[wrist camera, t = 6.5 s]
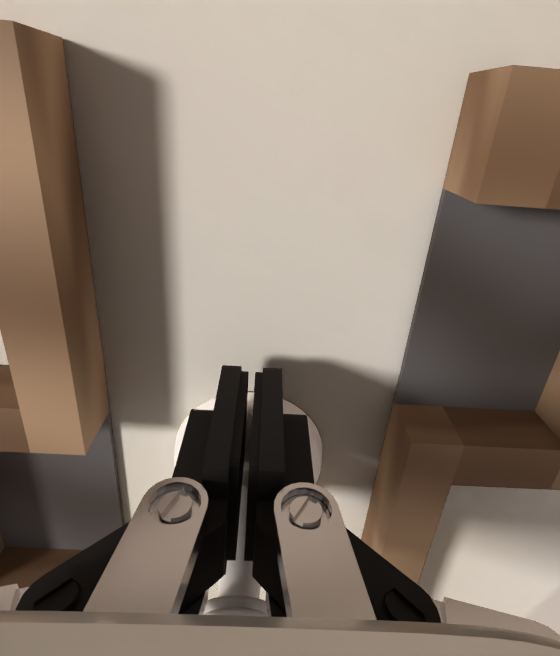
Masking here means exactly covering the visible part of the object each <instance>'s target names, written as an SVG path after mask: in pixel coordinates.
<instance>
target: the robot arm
mask: <svg viewBox="0 0 560 656" xmlns="http://www.w3.org/2000/svg"><path fill="white" fill-rule="evenodd" d="M247 395H248V372H244V371H241V366H225V365H223V366H222V370H221V375H220V380H219V385H218V390H217V395H216V400H215V405H214V410H197V409H192V410H191V412H190V415H189V418H188V422H187V425H186V429H185V433H184V436H183V440H182V444H181V447H180V451H179V455H178V458H177V462H176V465H175V469H174V473H173V476H172V478H169V479H165V480H163V481H161V482H158V483H156V484H155V485H154V486H152V487H151V488H150V489H149V490H148V491H147V492H146V494H145V495H144V496H143V498H142V500H141V502H140V504H139V506H138V508H137V509H136V511H135V513H134V515H133V517H132V519H131V521H130V522H128V523H126V524H125V525H123V526H122V527H120V528H118V529H117V530H115V531H114V532H112V533H110V534H109V535H107V536H105V537H104V538H102V539H101V540H99V541H97V542H96V543H94V544H93V545H91V546H89V547H88V548H86V549H85V550H83V551H81V552H80V553H78V554H76V555H75V556H73V557H72V558H70V559H68V560H67V561H65V562H64V563H62V564H60V565H59V566H57V567H56V568H54V569H52V570H51V571H49V572H47V573H46V574H44V575H43V576H42V577H40V578H39V579H38V580H36V581H35V582H34V583H32V584H31V586H30V587H26V588H20V589H19V588H18V584H12V585H6V586H1V587H0V656H560V635H559V634H557V633H556V632H555V631H553V630H552V629H551V628H549V627H548V626H545V625H543V624H540V623H538V622H536V621H533V620H529V619H525V618H521V617H518V616H514V615H510V614H506V613H502V612H499V611H495V610H491V609H487V608H484V607H480V606H476V605H472V604H469V603H465V602H461V601H457V600H454V599H450V598H446V597H444V599H443V601H442V602H440V601H437V600H433V599H431V597H430V596H429V595H428V594H427V593H426V592H425V591H424V590H423V589H422V588H421V587H420V586H419V585H417V584H416V583H415V582H414V581H412V580H411V579H410V578H408V577H407V576H406V575H405V574H403V573H402V572H401V571H400V570H398V569H397V568H396V567H395V566H393V565H392V564H391V563H390V562H388V561H387V560H386V559H384V558H383V557H382V556H381V555H379V554H378V553H377V552H376V551H374V550H373V549H372V548H371V547H369V546H368V545H367V544H366V543H364V542H363V541H362V540H360V539H359V538H358V537H357V536H355V535H354V534H353V533H352V532H350V531H349V530H348V529H347V528H345V525H344V522H343V519H342V516H341V513H340V510H339V507H338V504H337V502H336V500H335V499H334V497H333V496H332V495H331V494H330V493H329V492H328V491H327V490H326V489H324V488H322V487H320V486H319V485H315V484H314V475H313V466H312V456H311V447H310V438H309V428H308V419H307V415H299V414H283V391H282V369H281V368H263V373H262V372H256V373H255V387H254V401H253V416H252V430H251V444H250V459H249V475H248V493H247V513H246V532H245V551H244V561H253V566H252V577H253V578H254V579H255V580H256V581H257V582H258V583H259V584H260V585H261V586H262V587H263V588H264V590H265V591H266V607H267V614H268V617H265V616H232V615H203V614H204V610H205V607H206V603H207V600H208V593H209V588H210V587H211V586H212V585H213V584H215V583H216V582H217V581H218V580H219V579H221V578H222V577H223V576H224V575H226V567H227V560H232V561H235V560H236V550H237V539H238V527H239V515H240V503H241V491H242V480H243V468H244V456H245V439H246V417H247Z"/></svg>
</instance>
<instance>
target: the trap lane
mask: <svg viewBox="0 0 560 656" xmlns="http://www.w3.org/2000/svg"><path fill="white" fill-rule="evenodd" d="M0 330H1V334H2V338H3V342H4V346H5V350H6V354H7V359H8V363H9V366H5V365H0V587H1V586H6V585H12V584H18V588H19V589H20V588H26V587H30V586H31V584H32V583H34V582H35V581H36V580H38V579H39V578H40V577H42V576H43V575H44V574H46V573H47V572H49V571H51V570H52V569H54V568H56V567H57V566H59V565H60V564H62V563H64V562H65V561H67V560H68V559H70V558H72V557H73V556H75V555H76V554H78V553H80V552H81V551H83V550H85V549H86V548H88V547H89V546H91V545H93V544H94V543H96V542H97V541H99V540H101V539H102V538H104V537H105V536H107V535H109V534H110V533H112V532H114V531H115V530H117V529H118V528H120V527H122V526H123V525H124V519H123V511H122V503H121V495H120V487H119V479H118V472H117V464H116V456H115V448H114V440H113V432H112V424H111V417H110V409H109V401H108V393H107V385H106V377H105V369H104V361H103V354H102V346H101V338H100V330H99V322H98V314H97V306H96V299H95V291H94V283H93V275H92V267H91V259H90V251H89V243H88V236H87V228H86V220H85V212H84V204H83V196H82V188H81V181H80V173H79V165H78V157H77V149H76V141H75V133H74V125H73V118H72V110H71V102H70V94H69V86H68V78H67V70H66V63H65V55H64V47H63V39H62V38H61V37H58V36H55V35H53V34H50V33H47V32H44V31H41V30H38V29H35V28H32V27H29V26H26V25H23V24H20V23H17V22H14V21H8V20H0ZM451 485H461V486H483V487H506V488H528V489H550V490H560V69H552V68H541V67H529V66H518V65H511V66H506V67H500V68H495V69H490V70H484V71H479V72H474V73H470V74H469V78H468V82H467V86H466V91H465V95H464V99H463V104H462V108H461V112H460V117H459V121H458V125H457V130H456V134H455V138H454V142H453V147H452V151H451V155H450V160H449V164H448V168H447V173H446V177H445V181H444V186H443V190H442V194H441V198H440V203H439V207H438V211H437V216H436V220H435V224H434V229H433V233H432V237H431V242H430V246H429V250H428V254H427V259H426V263H425V267H424V272H423V276H422V280H421V285H420V289H419V293H418V297H417V302H416V306H415V310H414V315H413V319H412V323H411V328H410V332H409V336H408V341H407V345H406V349H405V353H404V358H403V362H402V366H401V371H400V375H399V379H398V384H397V388H396V392H395V397H394V401H393V405H392V409H391V414H390V418H389V422H388V427H387V431H386V435H385V440H384V444H383V448H382V453H381V457H380V461H379V465H378V470H377V474H376V478H375V483H374V487H373V491H372V496H371V500H370V504H369V508H368V513H367V517H366V521H365V526H364V530H363V534H362V539H361V540H362V541H363V542H364V543H366V544H367V545H368V546H369V547H371V548H372V549H373V550H374V551H376V552H377V553H378V554H379V555H381V556H382V557H383V558H384V559H386V560H387V561H388V562H390V563H391V564H392V565H393V566H395V567H396V568H397V569H398V570H400V571H401V572H402V573H403V574H405V575H406V576H407V577H408V578H410V579H411V580H412V581H414V582H415V583H416V584H418V581H419V578H420V575H421V572H422V569H423V566H424V563H425V560H426V557H427V554H428V551H429V548H430V546H431V543H432V540H433V537H434V534H435V531H436V528H437V525H438V522H439V519H440V516H441V513H442V510H443V507H444V504H445V502H446V499H447V496H448V493H449V490H450V487H451Z"/></svg>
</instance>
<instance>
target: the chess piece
mask: <svg viewBox="0 0 560 656" xmlns="http://www.w3.org/2000/svg"><path fill="white" fill-rule="evenodd" d="M215 400H216V398H213V399H211V400H209V401H207V402H205V403H203V404H202V405H200V406H198V407H197V408H196V409H197V410H214V405H215ZM253 401H254V392H248V395H247V417H246V439H245V456H244V468H243V480H242V491H241V503H240V515H239V527H238V539H237V550H236V560H235V561H232V560H227V567H226V575H224V576H223V577H222V578H221V579H219V580H218V597H217V598H213V599H210V600H208V601H207V603H206V607H205V610H204V614H203V615H232V616H265V617H268V614H267V607H266V601H264V600H261V599H259V595H260V587H261V585H260V584H259V583H258V582H257V581H256V580H255V579H254V578H253V577H252V566H253V561H244V551H245V532H246V513H247V493H248V475H249V459H250V444H251V430H252V416H253ZM283 414H299V415H306V414H305V413H304V412H303V411H302V410H301V409H299V408H298V407H297V406H295V405H293V404H292V403H290V402H288V401H286V400H284V399H283ZM189 415H190V414H189ZM189 415H188V416H187V417H186V419H185V420H184V421H183V423H182V425H181V426H180V428H179V431H178V433H177V437H176V441H175V453H174V466H175V465H176V462H177V458H178V455H179V451H180V447H181V444H182V440H183V436H184V433H185V429H186V425H187V422H188V418H189ZM307 419H308V428H309V438H310V447H311V456H312V466H313V475H314V484H316V482H317V480H318V478H319V475H320V471H321V458H322V442H321V438H320V435H319V432H318V430H317V428H316V426H315V425H314V423H313V422H312V420H311V419H310V418H309V417H308V416H307Z"/></svg>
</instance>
